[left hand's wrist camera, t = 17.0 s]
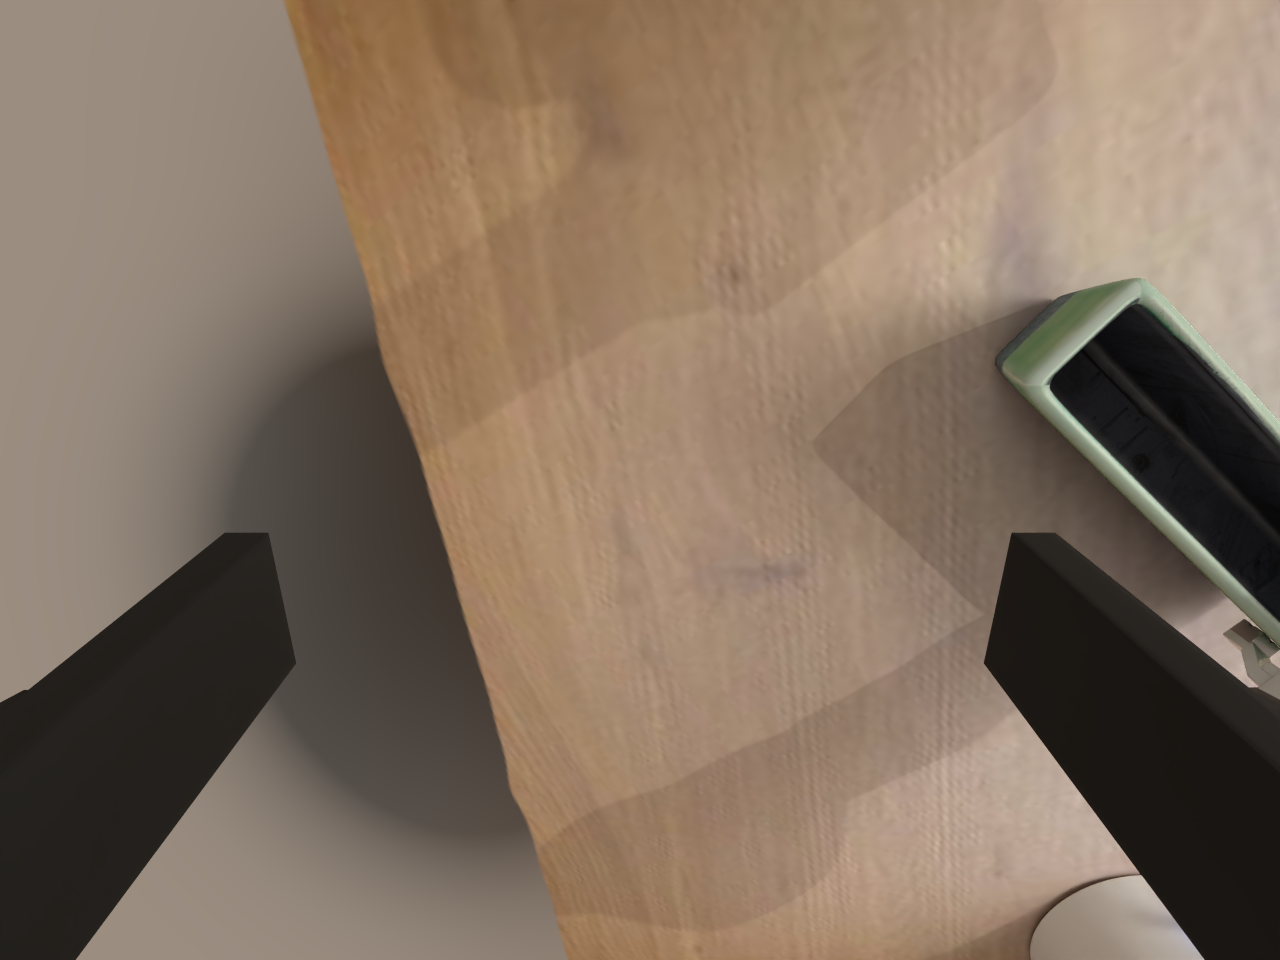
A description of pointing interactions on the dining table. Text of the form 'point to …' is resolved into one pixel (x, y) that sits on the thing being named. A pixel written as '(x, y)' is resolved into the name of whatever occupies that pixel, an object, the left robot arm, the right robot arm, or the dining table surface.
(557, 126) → the dining table surface
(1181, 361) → the planter
